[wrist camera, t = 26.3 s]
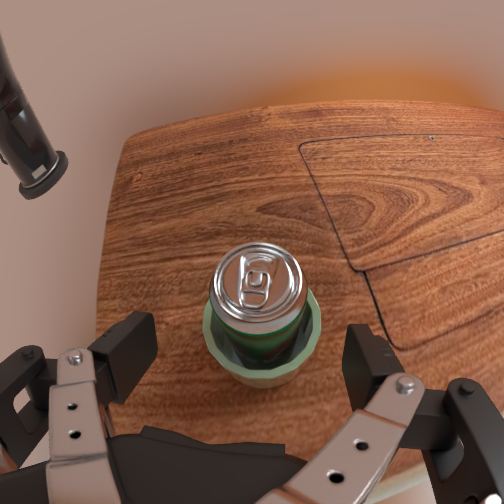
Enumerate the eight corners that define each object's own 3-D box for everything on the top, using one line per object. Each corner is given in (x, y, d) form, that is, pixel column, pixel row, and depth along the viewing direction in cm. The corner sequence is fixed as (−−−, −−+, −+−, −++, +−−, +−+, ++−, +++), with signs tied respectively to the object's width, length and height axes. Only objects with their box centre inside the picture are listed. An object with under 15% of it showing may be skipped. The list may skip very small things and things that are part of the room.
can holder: (203, 365, 24) (182, 347, 19) (242, 290, 28) (234, 253, 22) (288, 402, 22) (293, 397, 16) (322, 320, 26) (336, 289, 20)
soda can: (297, 319, 25) (313, 240, 15) (290, 375, 22) (305, 336, 12) (240, 312, 26) (217, 230, 16) (229, 367, 23) (193, 320, 13)
